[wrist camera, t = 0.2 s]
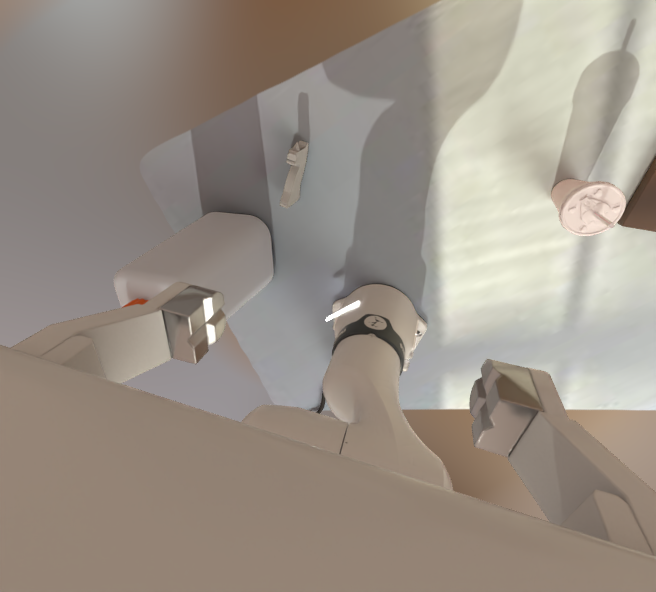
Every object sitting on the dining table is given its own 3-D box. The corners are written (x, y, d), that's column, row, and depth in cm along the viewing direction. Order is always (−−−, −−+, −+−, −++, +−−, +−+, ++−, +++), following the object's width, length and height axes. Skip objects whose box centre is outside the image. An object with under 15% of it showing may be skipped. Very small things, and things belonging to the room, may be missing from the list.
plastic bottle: (200, 208, 65) (70, 267, 42) (271, 214, 62) (171, 283, 38) (214, 276, 73) (109, 359, 50) (277, 286, 69) (197, 379, 46)
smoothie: (556, 223, 49) (593, 260, 38) (530, 191, 48) (560, 220, 37) (603, 192, 46) (660, 223, 34) (576, 158, 45) (625, 177, 33)
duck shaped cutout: (292, 197, 59) (302, 137, 53) (299, 199, 59) (310, 139, 53) (279, 205, 54) (289, 141, 49) (287, 208, 54) (298, 144, 48)
